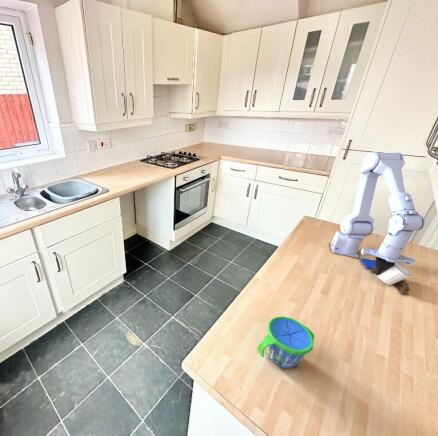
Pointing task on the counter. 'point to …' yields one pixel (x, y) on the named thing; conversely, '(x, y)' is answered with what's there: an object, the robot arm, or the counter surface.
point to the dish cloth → (368, 263)
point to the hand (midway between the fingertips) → (376, 273)
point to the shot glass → (394, 274)
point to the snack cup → (286, 341)
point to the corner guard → (398, 284)
